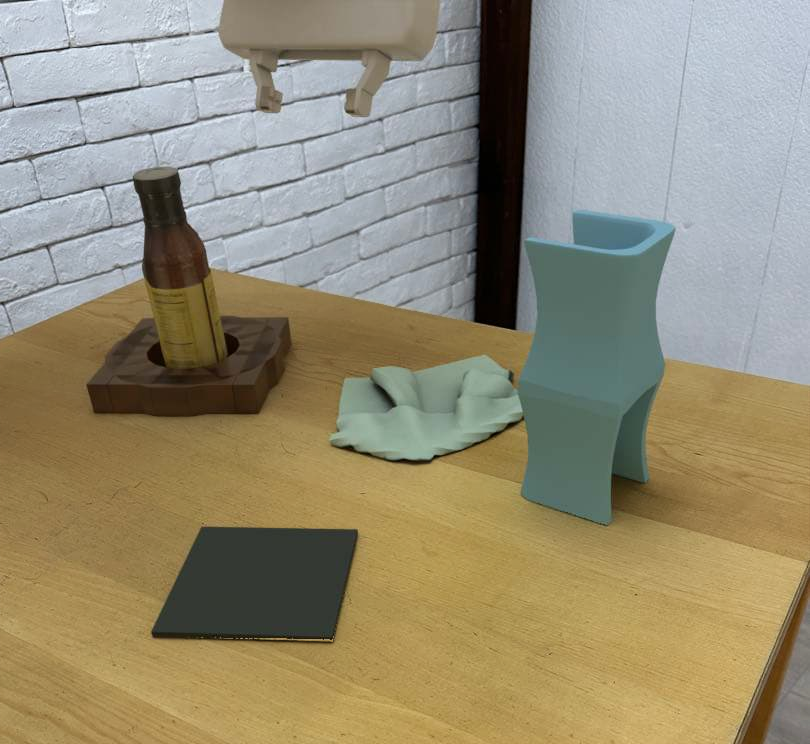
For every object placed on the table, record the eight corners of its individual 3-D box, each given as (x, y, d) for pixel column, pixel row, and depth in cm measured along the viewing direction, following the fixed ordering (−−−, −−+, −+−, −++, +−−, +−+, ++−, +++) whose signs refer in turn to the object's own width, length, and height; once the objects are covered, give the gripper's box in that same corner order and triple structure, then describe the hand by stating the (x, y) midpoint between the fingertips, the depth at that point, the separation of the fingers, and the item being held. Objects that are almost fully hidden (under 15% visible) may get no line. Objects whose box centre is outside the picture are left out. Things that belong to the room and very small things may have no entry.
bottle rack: (85, 415, 85) (77, 386, 84) (144, 342, 99) (138, 315, 97) (262, 416, 84) (258, 387, 82) (297, 341, 97) (294, 314, 96)
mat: (152, 637, 59) (150, 631, 59) (202, 531, 69) (201, 526, 69) (332, 642, 58) (332, 636, 58) (358, 534, 68) (357, 528, 67)
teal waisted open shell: (561, 452, 76) (577, 208, 64) (649, 478, 72) (684, 223, 61) (514, 495, 71) (522, 239, 59) (607, 526, 67) (635, 258, 55)
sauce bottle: (200, 357, 95) (162, 158, 84) (243, 370, 92) (210, 165, 80) (153, 381, 91) (106, 174, 79) (196, 396, 88) (154, 183, 76)
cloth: (306, 459, 77) (303, 435, 76) (357, 352, 94) (356, 330, 93) (549, 470, 74) (550, 444, 72) (555, 357, 91) (557, 335, 90)
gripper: (213, -78, 76) (193, 98, 79) (423, -95, 66) (391, 105, 69) (261, -44, 81) (241, 119, 84) (461, -55, 72) (430, 129, 75)
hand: (310, 113), depth 77 cm, fingers open, 8 cm apart
